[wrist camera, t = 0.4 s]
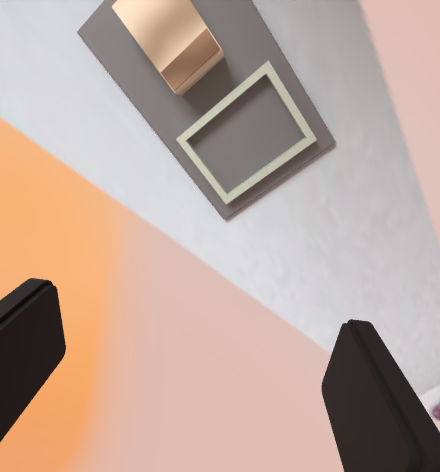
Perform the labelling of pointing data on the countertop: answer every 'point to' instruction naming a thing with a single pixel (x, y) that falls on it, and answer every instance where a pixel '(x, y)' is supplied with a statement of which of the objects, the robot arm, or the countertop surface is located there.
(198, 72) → the block
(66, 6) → the countertop surface
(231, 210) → the mat
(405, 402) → the robot arm
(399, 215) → the countertop surface
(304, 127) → the tray
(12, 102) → the countertop surface
